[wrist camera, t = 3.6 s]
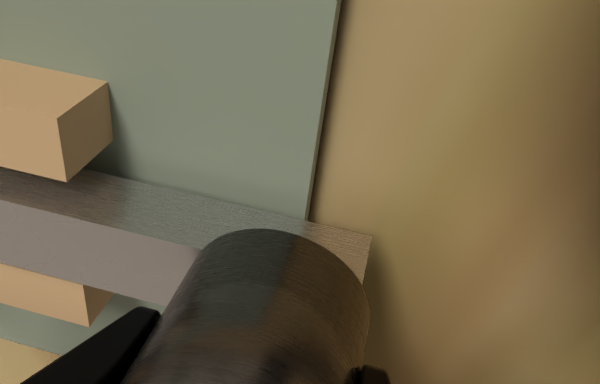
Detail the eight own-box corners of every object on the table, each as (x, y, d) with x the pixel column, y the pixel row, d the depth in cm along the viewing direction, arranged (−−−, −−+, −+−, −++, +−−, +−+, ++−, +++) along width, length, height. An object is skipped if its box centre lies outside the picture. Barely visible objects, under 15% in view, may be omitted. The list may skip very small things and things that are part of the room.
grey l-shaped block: (401, 179, 11) (351, 521, 5) (361, 330, 13) (300, 665, 8) (-145, 58, 12) (-602, 232, 7) (-88, 215, 15) (-391, 430, 9)
